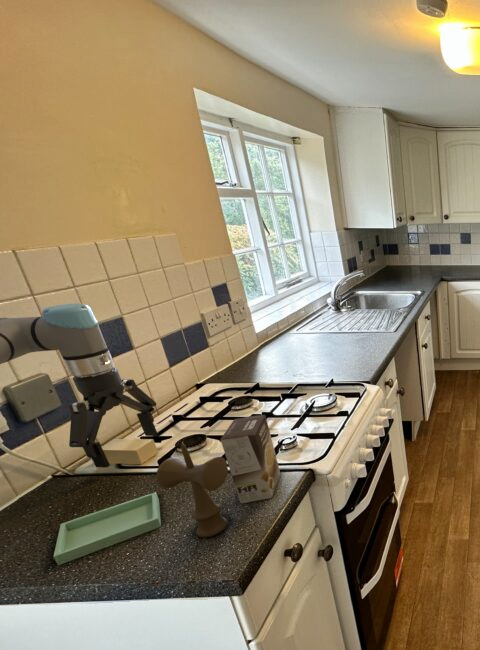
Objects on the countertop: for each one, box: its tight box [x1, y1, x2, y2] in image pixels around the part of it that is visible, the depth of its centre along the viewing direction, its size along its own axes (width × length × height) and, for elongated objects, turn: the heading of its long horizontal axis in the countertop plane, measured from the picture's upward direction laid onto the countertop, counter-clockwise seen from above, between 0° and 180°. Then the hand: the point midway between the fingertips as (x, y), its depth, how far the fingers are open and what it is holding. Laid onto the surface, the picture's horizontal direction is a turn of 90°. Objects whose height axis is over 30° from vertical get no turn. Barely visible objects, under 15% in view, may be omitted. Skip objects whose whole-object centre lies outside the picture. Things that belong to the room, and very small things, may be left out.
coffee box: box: [219, 414, 281, 504], centre depth 89 cm, size 9×6×16 cm
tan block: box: [101, 438, 159, 465], centre depth 102 cm, size 10×5×4 cm, turn 89°
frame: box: [53, 491, 162, 566], centre depth 80 cm, size 14×10×2 cm
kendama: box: [156, 442, 229, 538], centre depth 77 cm, size 6×10×20 cm, turn 88°
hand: (129, 449), depth 102 cm, fingers open, 13 cm apart
